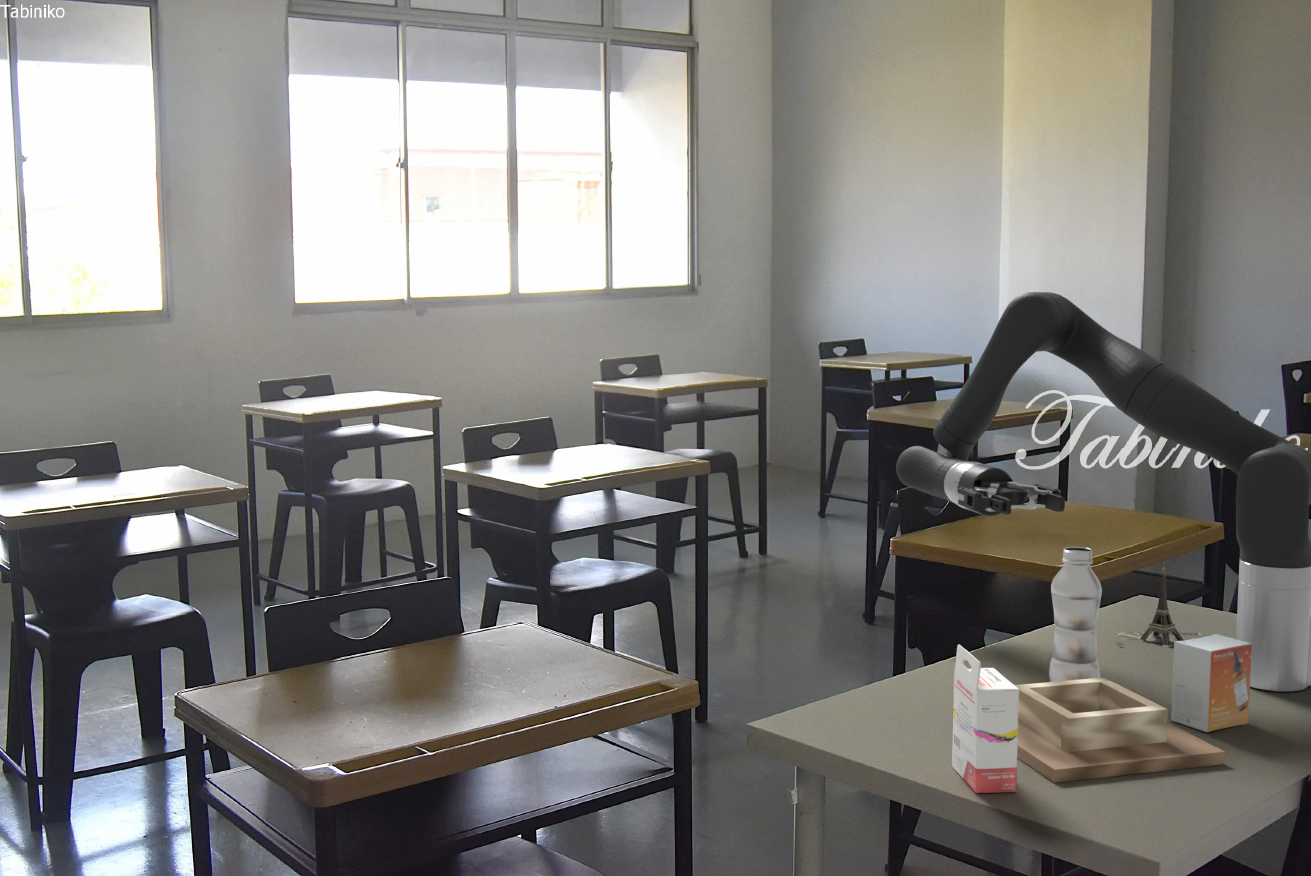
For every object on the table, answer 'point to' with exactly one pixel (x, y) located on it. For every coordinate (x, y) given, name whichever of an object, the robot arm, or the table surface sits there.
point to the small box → (1211, 682)
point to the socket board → (1101, 732)
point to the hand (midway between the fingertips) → (1035, 506)
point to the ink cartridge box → (984, 726)
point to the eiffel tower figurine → (1157, 625)
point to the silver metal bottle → (1075, 617)
